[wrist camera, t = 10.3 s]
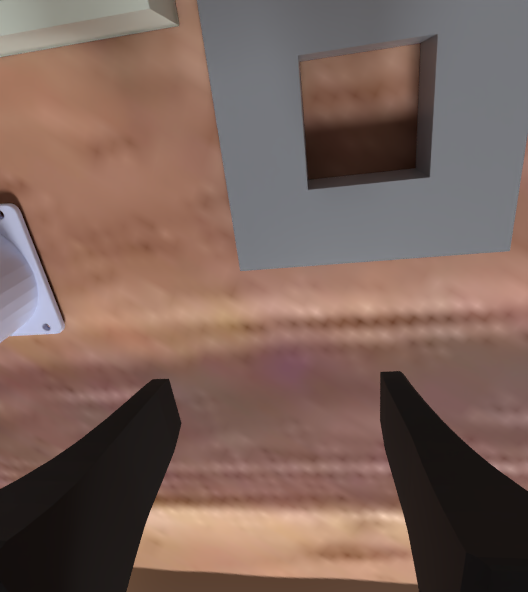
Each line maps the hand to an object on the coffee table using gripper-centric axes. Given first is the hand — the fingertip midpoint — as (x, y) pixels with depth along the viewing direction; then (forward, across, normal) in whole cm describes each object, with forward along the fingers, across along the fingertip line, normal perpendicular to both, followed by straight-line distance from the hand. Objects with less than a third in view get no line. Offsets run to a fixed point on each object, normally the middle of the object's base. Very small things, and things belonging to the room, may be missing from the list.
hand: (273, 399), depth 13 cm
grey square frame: (+9, -4, -8) cm, 13 cm away
